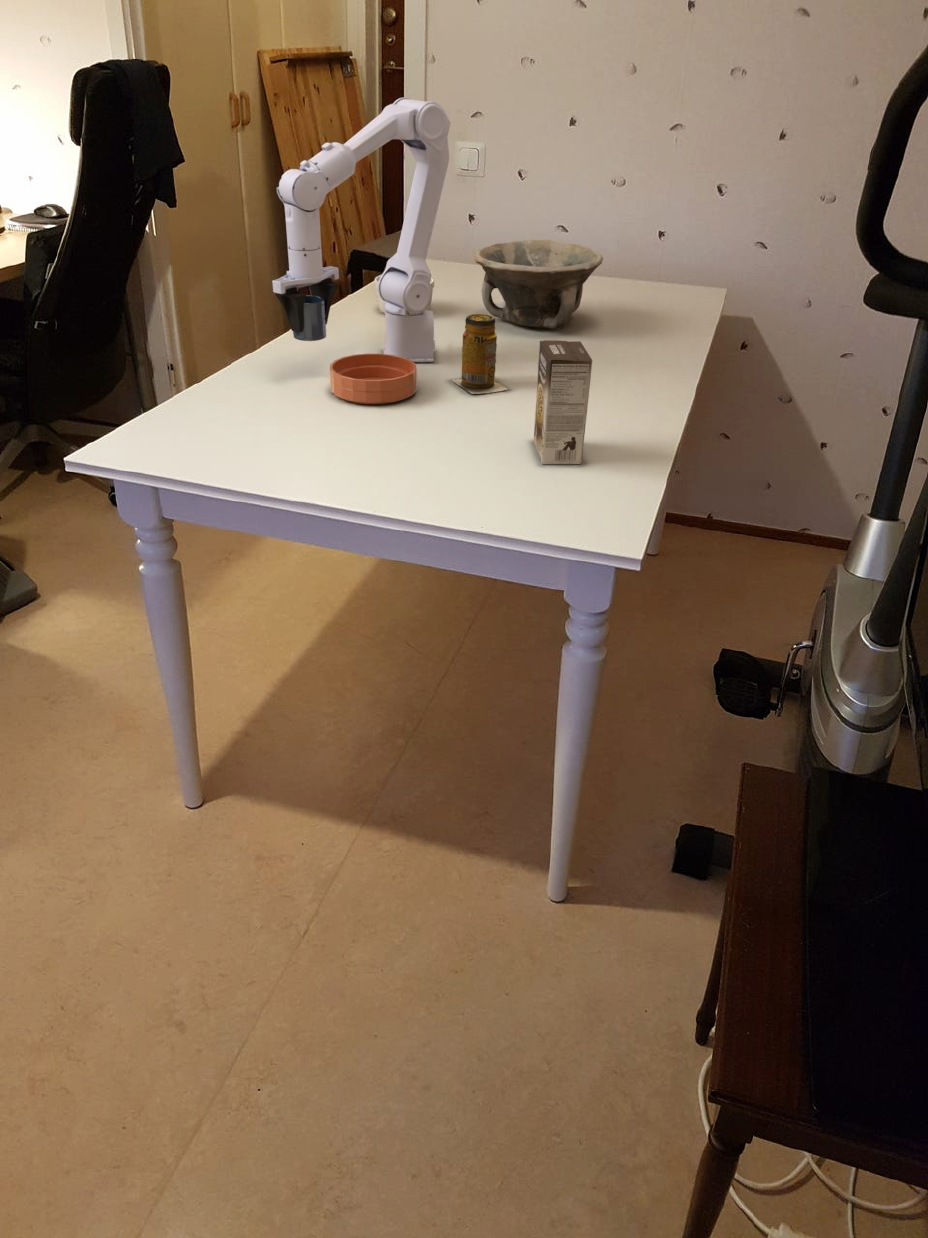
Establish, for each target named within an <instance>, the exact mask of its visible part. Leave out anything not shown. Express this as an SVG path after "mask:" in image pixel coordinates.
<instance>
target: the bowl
mask: <svg viewBox="0 0 928 1238" xmlns="http://www.w3.org/2000/svg"><path fill="white" fill-rule="evenodd" d="M603 260H604V257H603V255H602V254H600V253H599V252H598V251H596V250H594V249H593V248H591V247H588V246H586V245H581V244H577V243H573V242H572V243H570V242H566V241H560V240H559V241H558V240H552V239H528V240H516V241H508V242H499V243H494V244H490V245H488V246H484V247H482V248H480V249H479V250H477V251H476V252H475V253H474V262H475V263H476V264H478V265H479V266H481V268H482V270H483V271H484V276H483V281H482V284H481V285H482V286H481V299H482V302H483V306H484V308H485V310H486V311H487V312H488V313H489V314H490V316H492V317H494V318H498V319H501V320H505V321H507V322H509V323H512V324H515V325H519V326H522V327H529V328H539V329H552V330H561V329H564V328H565V327H566V326H567V325H569V323H570V321H571V319H572V317H573V314H574V313H575V312H576V311H577V310H578V309H579V307H580V305H581V300H582V297H583V291H584V290H583V289H584V284H585V283H586V281H587V280H588V279H589V278H590V276H591V275H592V274H593V272H594V271H595V270H596V269H597V268H598V267H599V266H601V265H602V263H603ZM494 289H497V290H498V292H499V294H500V295H501V297H502V300H503V302H504V305H505V306H504V307H501V306H497V305H496V303H495V302H494V299H493V296H492V293H493V291H494Z"/></svg>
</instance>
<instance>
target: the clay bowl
mask: <svg viewBox="0 0 928 1238" xmlns="http://www.w3.org/2000/svg"><path fill="white" fill-rule="evenodd" d="M417 372H418V369H417V364H416V362H413V361H411V360H409V359H406V358H404V357H400V356H396V355H390V354H384V353H371V352H370V353H357V354H352V355H351V354H350V355H347V356H342V357H340V358H338V359H336V360H333V362H331V363H330V364H329V381H330V382H329V383H330V392H331V393H332V394H333V395H334V396H336V397H338V398H340V399H342V400H345V401H348V402H351V403H355V404H363V405H386V404H387V405H388V404H392V403H397V402H400V401H403V400H405V399H408V398H410V397H412V396H413V395H414V394H415V393H416V392H417V391H418V387H417V386H418V380H417V379H418V375H417V374H418V373H417Z"/></svg>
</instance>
